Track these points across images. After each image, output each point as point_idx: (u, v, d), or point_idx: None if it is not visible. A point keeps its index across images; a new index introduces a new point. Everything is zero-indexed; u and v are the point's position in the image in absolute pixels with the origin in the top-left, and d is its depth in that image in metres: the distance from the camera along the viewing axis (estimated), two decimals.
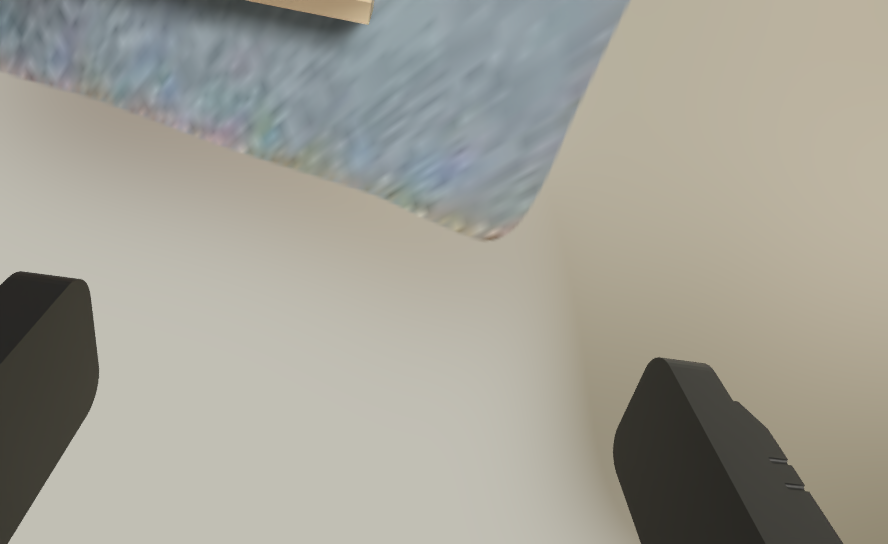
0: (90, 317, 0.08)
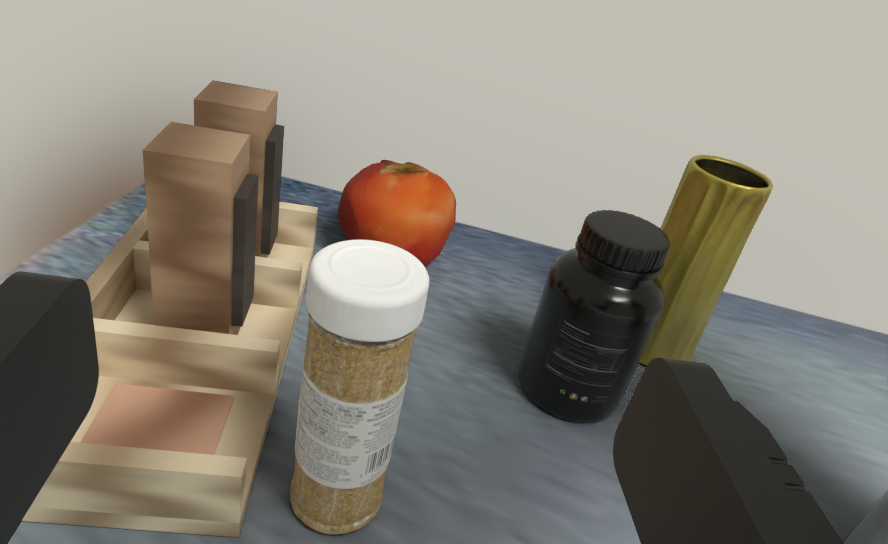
0: (90, 317, 0.08)
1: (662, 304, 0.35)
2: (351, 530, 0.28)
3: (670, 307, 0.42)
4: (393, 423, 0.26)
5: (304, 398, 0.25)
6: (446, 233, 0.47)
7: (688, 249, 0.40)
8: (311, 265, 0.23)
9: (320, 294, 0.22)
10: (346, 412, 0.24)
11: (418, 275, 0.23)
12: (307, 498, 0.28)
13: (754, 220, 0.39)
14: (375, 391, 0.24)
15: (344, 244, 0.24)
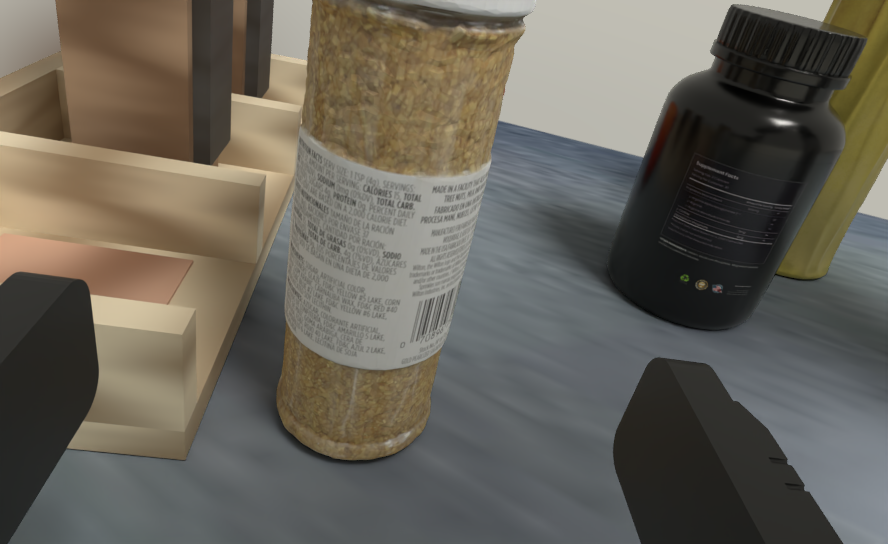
0: (90, 317, 0.08)
1: (845, 138, 0.23)
2: (381, 454, 0.16)
3: None
4: (463, 245, 0.14)
5: (301, 186, 0.13)
6: None
7: (849, 92, 0.28)
8: None
9: None
10: (382, 194, 0.12)
11: None
12: (305, 393, 0.16)
13: None
14: (440, 151, 0.12)
15: None
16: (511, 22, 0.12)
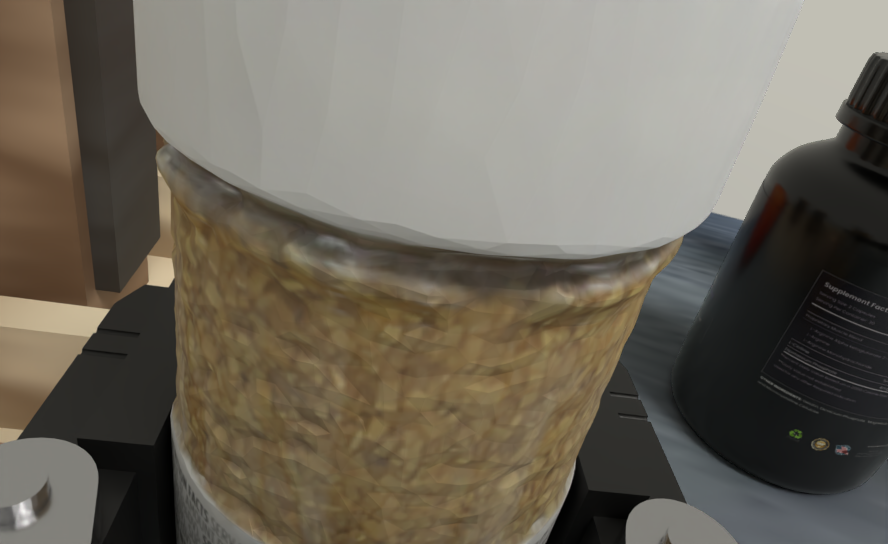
0: None
1: None
2: None
3: None
4: None
5: (178, 523, 0.06)
6: None
7: None
8: None
9: None
10: None
11: None
12: None
13: None
14: (485, 523, 0.05)
15: None
16: None
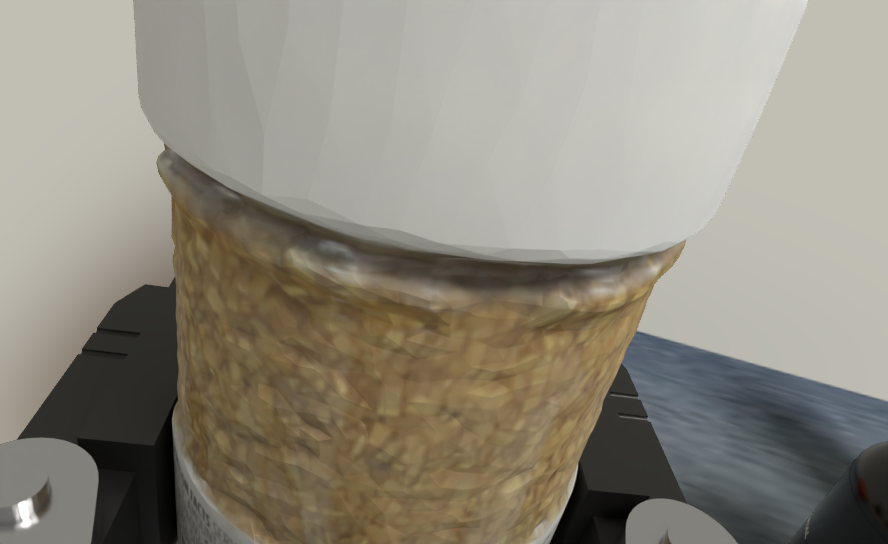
0: None
1: None
2: None
3: None
4: None
5: (180, 527, 0.06)
6: None
7: None
8: None
9: None
10: None
11: None
12: None
13: None
14: (487, 528, 0.05)
15: None
16: None
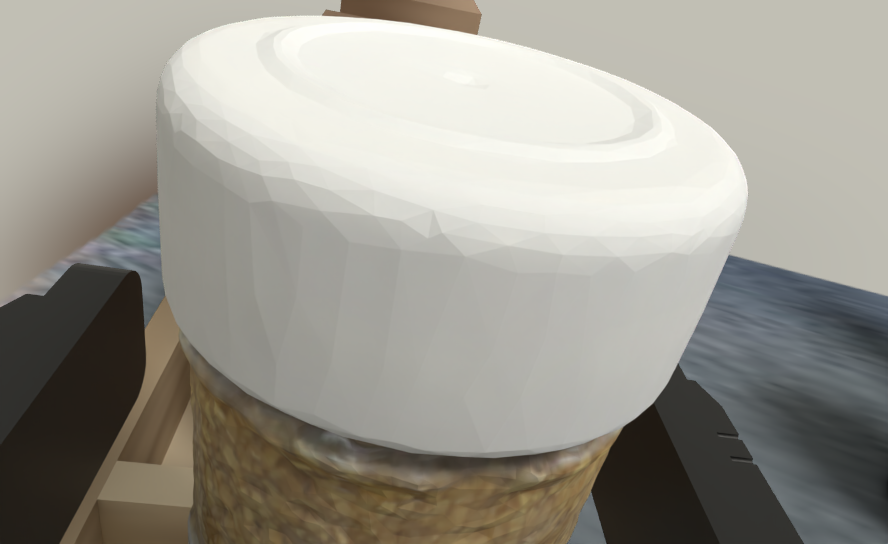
0: (141, 308, 0.09)
1: None
2: None
3: None
4: None
5: None
6: None
7: None
8: None
9: (196, 180, 0.04)
10: None
11: (688, 125, 0.05)
12: None
13: None
14: None
15: (342, 20, 0.06)
16: None
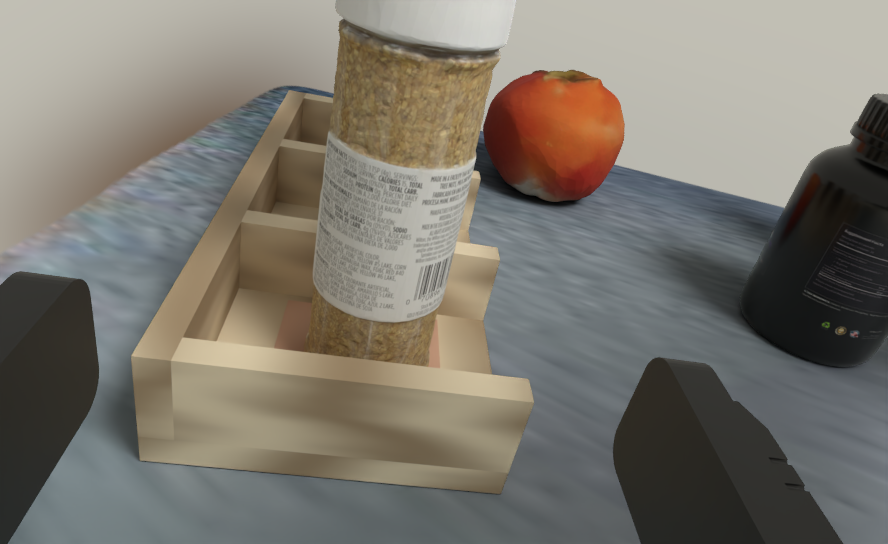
0: (90, 317, 0.08)
1: None
2: None
3: None
4: (454, 223, 0.18)
5: (329, 177, 0.17)
6: (617, 154, 0.40)
7: None
8: None
9: None
10: (393, 183, 0.16)
11: None
12: (330, 343, 0.20)
13: None
14: (437, 150, 0.16)
15: None
16: (489, 53, 0.16)
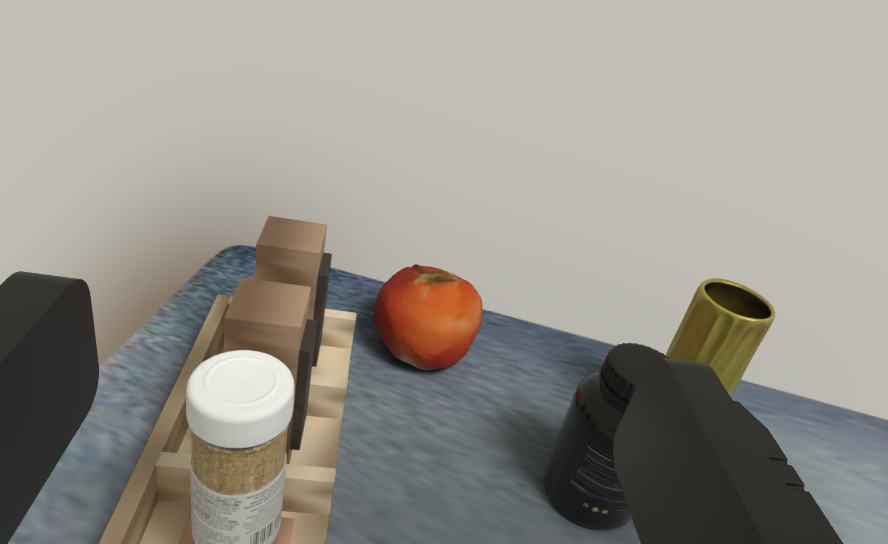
0: (90, 317, 0.08)
1: None
2: None
3: None
4: (272, 506, 0.30)
5: (191, 486, 0.29)
6: (474, 336, 0.51)
7: None
8: (188, 380, 0.27)
9: (192, 409, 0.26)
10: (224, 502, 0.28)
11: (282, 388, 0.27)
12: None
13: (758, 343, 0.43)
14: (248, 485, 0.28)
15: (223, 357, 0.28)
16: None
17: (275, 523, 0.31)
